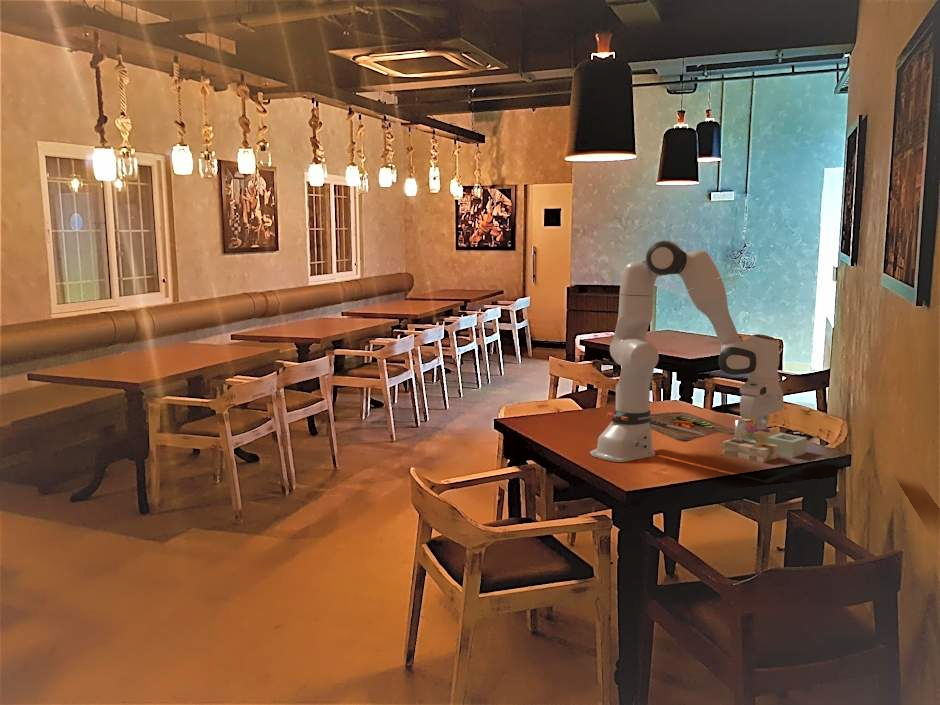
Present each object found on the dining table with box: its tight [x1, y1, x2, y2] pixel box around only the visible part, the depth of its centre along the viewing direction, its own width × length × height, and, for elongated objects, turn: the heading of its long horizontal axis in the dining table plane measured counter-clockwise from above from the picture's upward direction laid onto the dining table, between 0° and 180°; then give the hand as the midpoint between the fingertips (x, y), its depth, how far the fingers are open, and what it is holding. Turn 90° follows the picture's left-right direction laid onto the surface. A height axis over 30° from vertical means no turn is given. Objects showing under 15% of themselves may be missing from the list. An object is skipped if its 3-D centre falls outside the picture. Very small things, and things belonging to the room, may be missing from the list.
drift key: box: [753, 431, 771, 447], centre depth 237 cm, size 4×4×6 cm
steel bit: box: [733, 418, 746, 444], centre depth 242 cm, size 3×3×11 cm
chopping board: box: [649, 411, 735, 443], centre depth 284 cm, size 45×27×3 cm, turn 18°
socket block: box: [721, 437, 779, 464], centre depth 240 cm, size 9×14×5 cm, turn 39°
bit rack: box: [766, 432, 808, 459], centre depth 243 cm, size 9×9×6 cm
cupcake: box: [745, 419, 771, 441], centre depth 257 cm, size 9×8×12 cm
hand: (761, 428), depth 236 cm, fingers closed
